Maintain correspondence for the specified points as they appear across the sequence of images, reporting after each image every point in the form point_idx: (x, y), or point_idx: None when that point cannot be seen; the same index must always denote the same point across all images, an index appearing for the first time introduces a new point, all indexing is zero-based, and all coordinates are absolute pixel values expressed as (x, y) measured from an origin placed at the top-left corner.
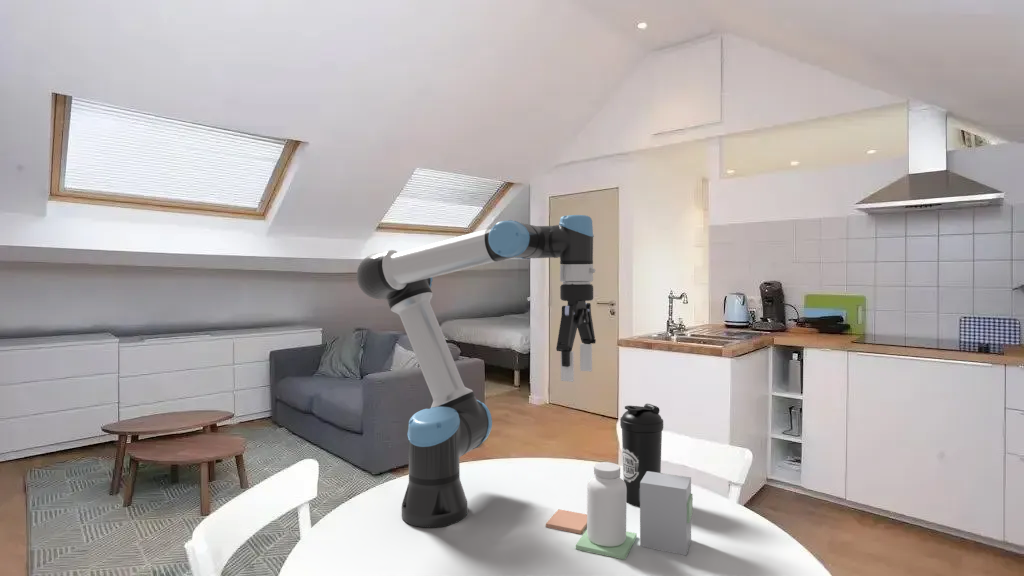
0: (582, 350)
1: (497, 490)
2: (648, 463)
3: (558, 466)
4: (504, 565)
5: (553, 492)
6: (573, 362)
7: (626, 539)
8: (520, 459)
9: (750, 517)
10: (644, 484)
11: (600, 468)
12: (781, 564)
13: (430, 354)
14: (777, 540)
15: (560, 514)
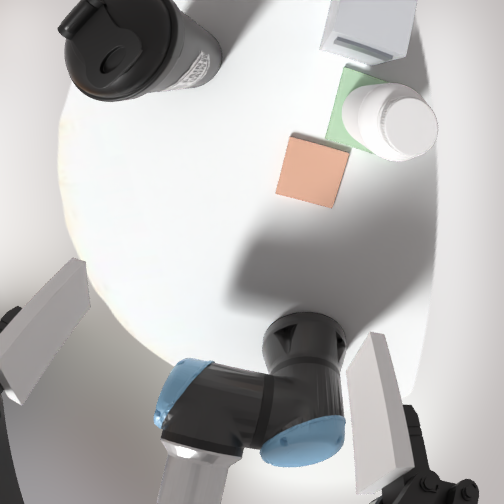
0: (36, 370)
1: (212, 289)
2: (200, 31)
3: (91, 216)
4: (432, 245)
5: (195, 209)
6: (389, 408)
7: (368, 84)
8: (89, 274)
9: None
10: (406, 48)
11: (427, 143)
12: None
13: None
14: None
15: (295, 188)
